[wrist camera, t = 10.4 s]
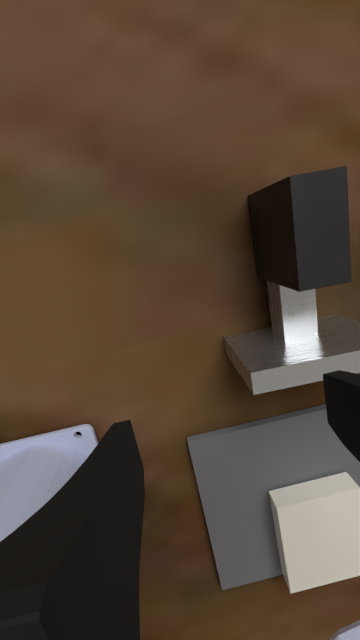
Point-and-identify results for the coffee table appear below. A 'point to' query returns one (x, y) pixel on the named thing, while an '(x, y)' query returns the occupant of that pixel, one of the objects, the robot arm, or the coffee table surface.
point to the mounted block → (299, 283)
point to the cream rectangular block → (318, 531)
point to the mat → (260, 484)
